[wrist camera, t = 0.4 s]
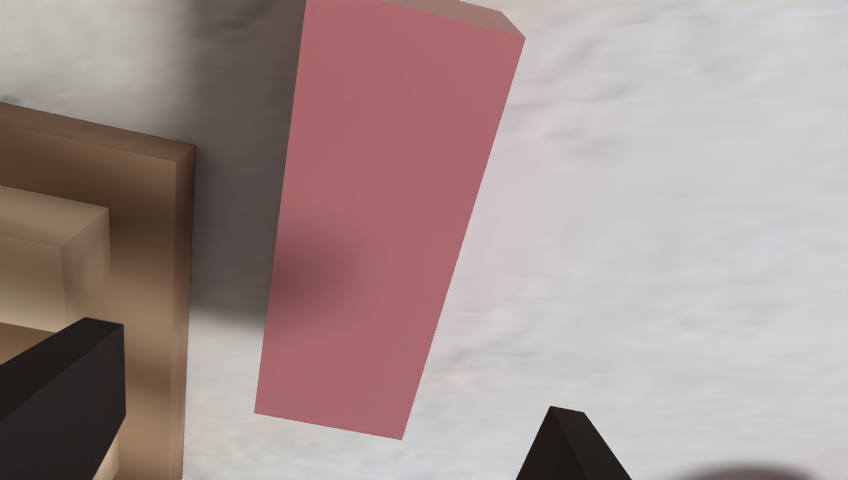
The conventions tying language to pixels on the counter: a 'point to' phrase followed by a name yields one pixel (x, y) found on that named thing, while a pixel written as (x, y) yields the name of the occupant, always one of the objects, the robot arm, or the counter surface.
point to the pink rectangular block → (377, 201)
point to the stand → (102, 263)
